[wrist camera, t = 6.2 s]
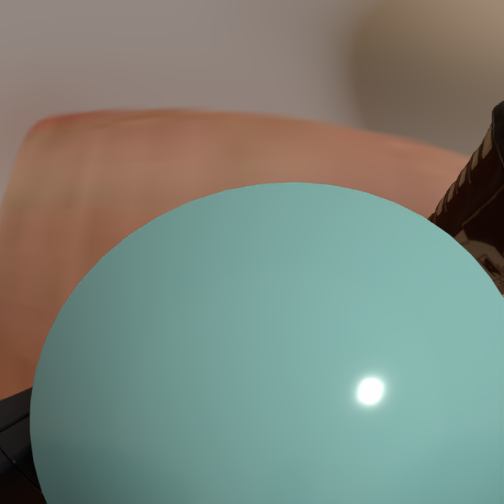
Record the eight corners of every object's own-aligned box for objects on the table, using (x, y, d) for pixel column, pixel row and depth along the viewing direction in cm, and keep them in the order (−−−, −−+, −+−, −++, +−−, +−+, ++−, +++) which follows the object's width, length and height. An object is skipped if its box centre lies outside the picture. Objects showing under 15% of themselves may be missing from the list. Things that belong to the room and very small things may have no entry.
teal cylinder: (295, 454, 12) (398, 646, 1) (193, 414, 13) (-3, 516, 2) (336, 357, 14) (557, 285, 2) (236, 318, 14) (165, 126, 3)
